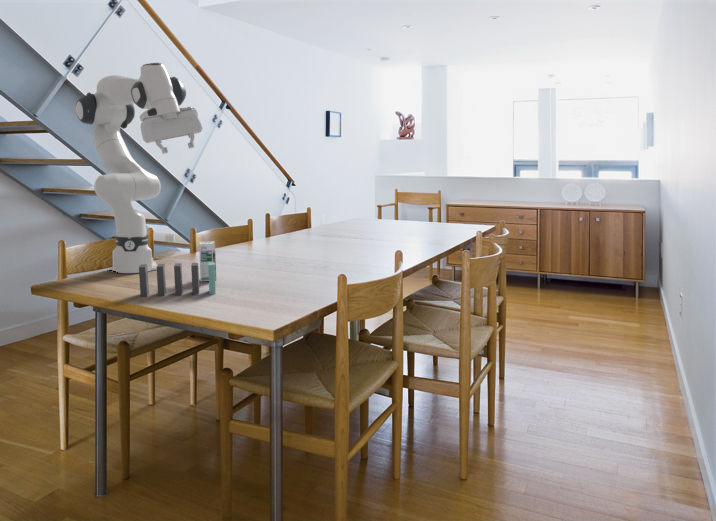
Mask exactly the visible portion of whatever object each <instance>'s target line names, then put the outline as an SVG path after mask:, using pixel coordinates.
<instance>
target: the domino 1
mask: <svg viewBox="0 0 716 521" xmlns="http://www.w3.org/2000/svg"><path fill="white" fill-rule="evenodd" d="M138 275H139V292H140V293H139V294H140V298H145V297H148V296H149V293H150V287H149V286H150V285H149V271H148V267H147V264H141V265H140V266H139V273H138Z"/></svg>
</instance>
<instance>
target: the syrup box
mask: <svg viewBox="0 0 716 521" xmlns="http://www.w3.org/2000/svg"><path fill="white" fill-rule="evenodd" d="M198 249H199V251H198V252H199V272H200V273H199V276H200V282H201V283H203V282H202V281H209V271H208V264H209V262H215V282H217V266H216V265H217V262H216V260H217V259H216V257H217V256H216V243H215V241H199V242H198Z"/></svg>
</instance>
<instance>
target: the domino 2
mask: <svg viewBox="0 0 716 521" xmlns="http://www.w3.org/2000/svg"><path fill="white" fill-rule="evenodd" d="M165 266H166V265H165V263H158V264H157V270H156V283H157V284H156V285H157V297H165V296H166V294H165V293H167V286H166V268H165Z"/></svg>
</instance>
